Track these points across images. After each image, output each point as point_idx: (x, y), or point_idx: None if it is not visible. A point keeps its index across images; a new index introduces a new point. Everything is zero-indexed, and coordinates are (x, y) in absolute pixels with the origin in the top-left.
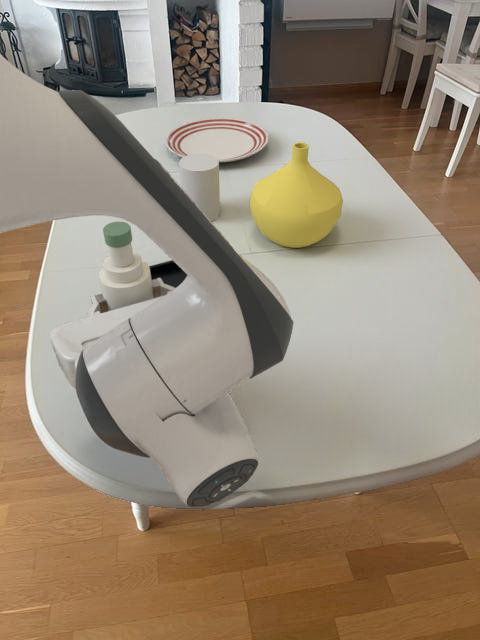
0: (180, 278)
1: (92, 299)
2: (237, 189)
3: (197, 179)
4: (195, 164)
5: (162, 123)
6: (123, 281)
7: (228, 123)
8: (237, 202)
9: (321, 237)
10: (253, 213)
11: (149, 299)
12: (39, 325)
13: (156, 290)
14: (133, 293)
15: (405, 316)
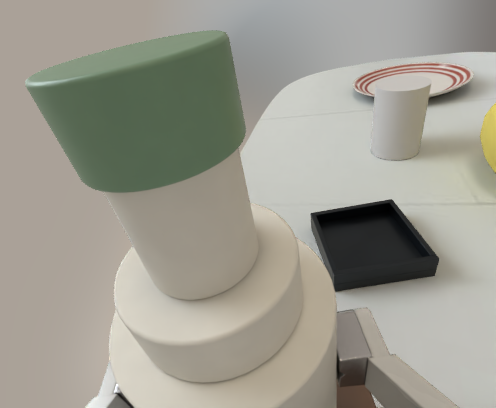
0: (369, 232)
1: (108, 368)
2: (438, 124)
3: (399, 102)
4: (398, 85)
5: (349, 75)
6: (183, 374)
7: (419, 67)
8: (441, 137)
9: None
10: (492, 145)
11: None
12: None
13: (351, 369)
14: None
15: None
